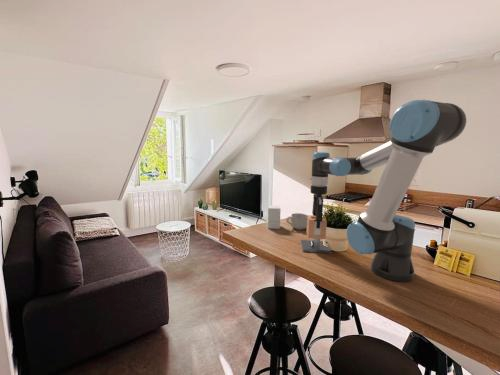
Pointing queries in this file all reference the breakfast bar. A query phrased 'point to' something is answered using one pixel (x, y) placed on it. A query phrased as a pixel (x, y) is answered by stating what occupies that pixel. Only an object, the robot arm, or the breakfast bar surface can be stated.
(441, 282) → the breakfast bar surface
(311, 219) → the pink square pen holder
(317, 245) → the board
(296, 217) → the teacup
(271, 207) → the supplement box
